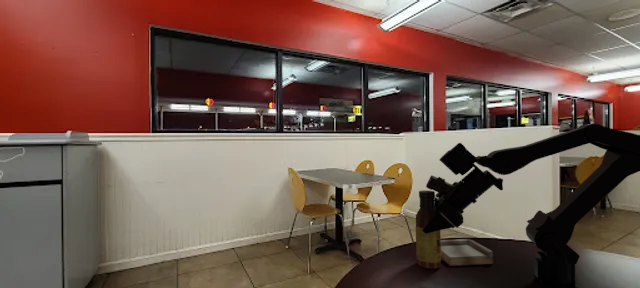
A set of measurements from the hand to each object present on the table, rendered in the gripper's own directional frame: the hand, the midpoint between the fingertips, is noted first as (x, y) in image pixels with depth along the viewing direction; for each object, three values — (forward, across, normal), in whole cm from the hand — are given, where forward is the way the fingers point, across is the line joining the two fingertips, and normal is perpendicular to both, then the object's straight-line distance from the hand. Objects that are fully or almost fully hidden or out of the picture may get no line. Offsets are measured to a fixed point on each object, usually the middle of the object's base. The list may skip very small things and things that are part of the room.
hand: (424, 226), depth 76 cm
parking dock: (0, -8, +14) cm, 16 cm away
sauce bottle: (+7, 0, +8) cm, 10 cm away
